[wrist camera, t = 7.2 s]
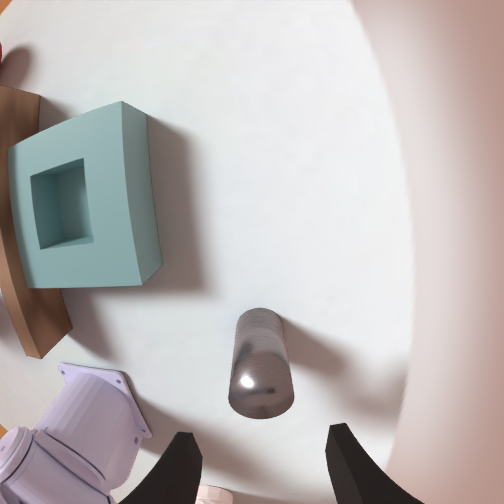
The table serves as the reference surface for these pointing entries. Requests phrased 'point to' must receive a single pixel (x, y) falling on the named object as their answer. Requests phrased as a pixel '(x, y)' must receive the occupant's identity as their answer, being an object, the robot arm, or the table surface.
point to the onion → (0, 53)
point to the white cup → (213, 495)
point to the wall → (5, 245)
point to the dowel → (260, 367)
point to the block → (86, 201)
